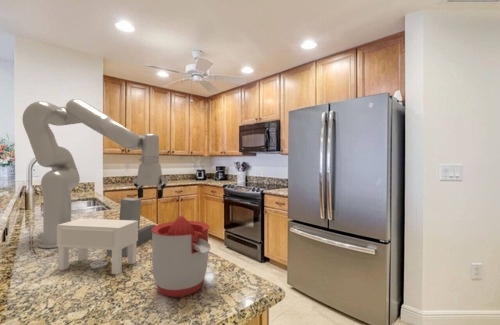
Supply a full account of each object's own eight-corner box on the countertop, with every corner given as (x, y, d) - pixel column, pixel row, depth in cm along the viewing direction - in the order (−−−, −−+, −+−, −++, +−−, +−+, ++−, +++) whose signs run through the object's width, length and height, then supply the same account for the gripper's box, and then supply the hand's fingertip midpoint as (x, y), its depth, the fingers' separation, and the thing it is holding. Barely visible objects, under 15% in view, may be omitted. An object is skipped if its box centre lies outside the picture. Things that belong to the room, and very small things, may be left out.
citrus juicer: (183, 311, 59) (184, 226, 59) (138, 291, 68) (138, 217, 68) (224, 284, 72) (225, 215, 72) (182, 270, 82) (182, 208, 82)
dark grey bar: (106, 255, 94) (106, 241, 95) (145, 235, 120) (145, 224, 120) (126, 257, 93) (126, 242, 93) (160, 236, 119) (160, 225, 119)
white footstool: (55, 270, 81) (55, 225, 81) (81, 258, 92) (81, 218, 92) (118, 275, 78) (118, 228, 78) (137, 262, 88) (137, 220, 88)
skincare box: (118, 229, 132) (118, 198, 132) (129, 226, 138) (129, 197, 138) (130, 231, 128) (130, 199, 128) (141, 227, 135) (141, 198, 135)
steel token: (86, 269, 83) (86, 264, 83) (97, 263, 88) (97, 259, 88) (100, 270, 82) (100, 265, 82) (110, 264, 87) (110, 259, 87)
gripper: (128, 160, 114) (127, 198, 114) (163, 160, 111) (163, 199, 111) (138, 160, 121) (137, 196, 121) (171, 161, 119) (171, 197, 119)
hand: (150, 198), depth 116 cm, fingers open, 9 cm apart
